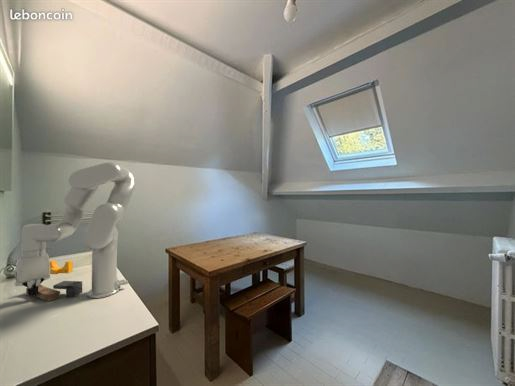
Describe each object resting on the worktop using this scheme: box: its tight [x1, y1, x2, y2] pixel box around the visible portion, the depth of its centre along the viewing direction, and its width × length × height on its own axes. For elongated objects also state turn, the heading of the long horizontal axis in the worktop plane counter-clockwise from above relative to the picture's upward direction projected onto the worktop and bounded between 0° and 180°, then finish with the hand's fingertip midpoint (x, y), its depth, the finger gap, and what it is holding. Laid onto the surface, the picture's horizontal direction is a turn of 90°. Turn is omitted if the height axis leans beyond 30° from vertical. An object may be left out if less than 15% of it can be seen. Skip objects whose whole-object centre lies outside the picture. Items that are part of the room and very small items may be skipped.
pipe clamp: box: [49, 260, 74, 275], centre depth 124 cm, size 12×4×6 cm, turn 88°
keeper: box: [52, 280, 83, 299], centre depth 99 cm, size 9×5×5 cm, turn 86°
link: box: [25, 284, 61, 302], centre depth 97 cm, size 18×5×2 cm, turn 68°
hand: (32, 295), depth 93 cm, fingers closed
